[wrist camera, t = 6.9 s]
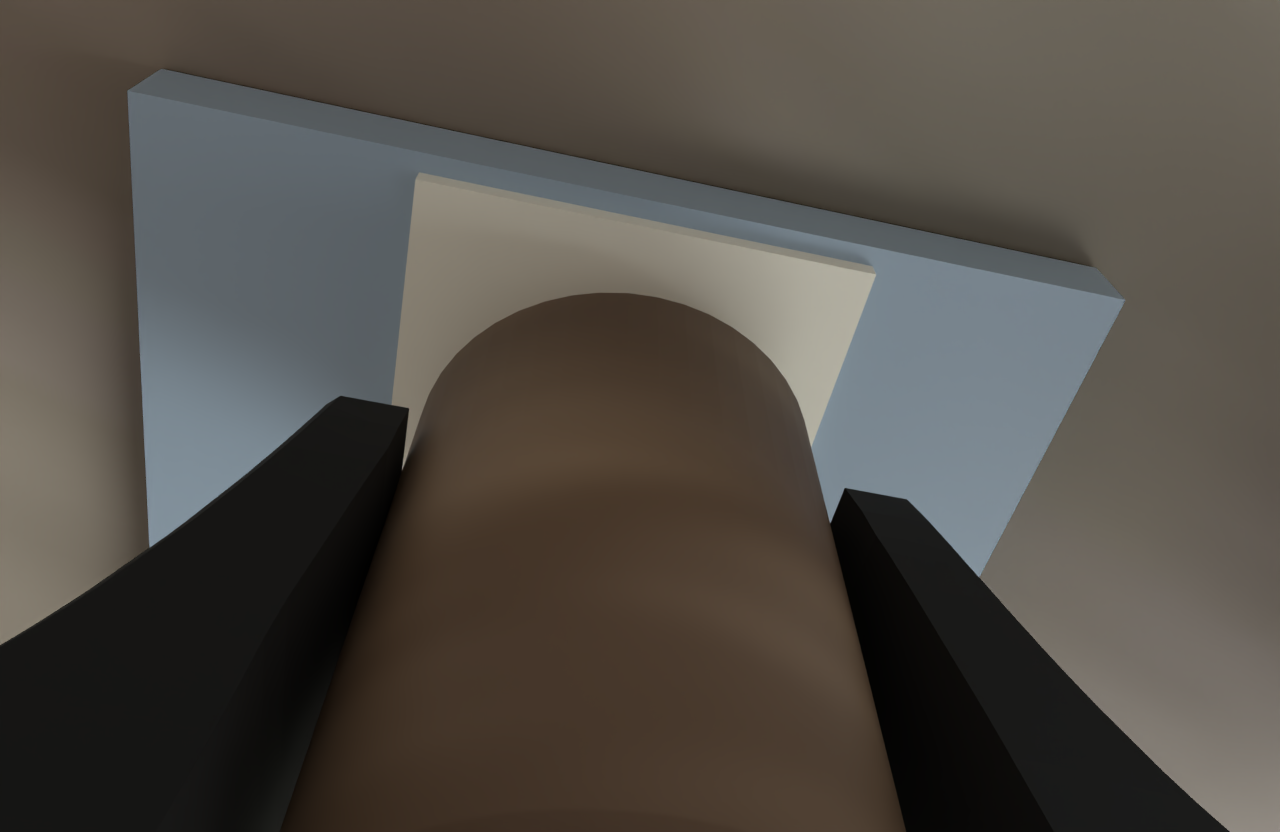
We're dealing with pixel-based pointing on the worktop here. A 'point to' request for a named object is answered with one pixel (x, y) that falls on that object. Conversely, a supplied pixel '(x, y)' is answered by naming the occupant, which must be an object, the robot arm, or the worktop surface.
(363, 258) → the board
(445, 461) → the brown wooden cylinder
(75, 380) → the worktop surface
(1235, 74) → the worktop surface
